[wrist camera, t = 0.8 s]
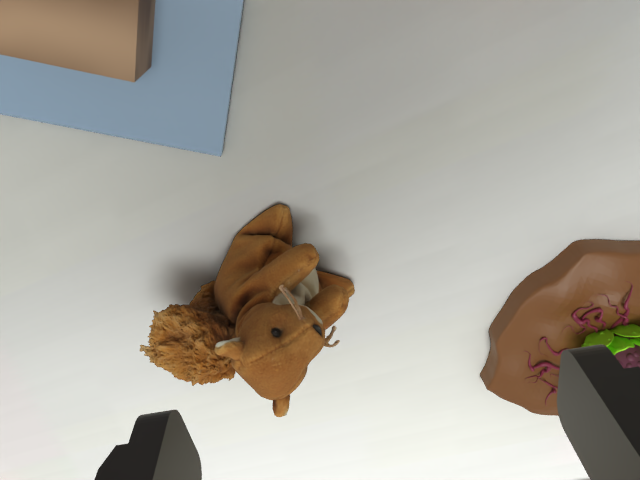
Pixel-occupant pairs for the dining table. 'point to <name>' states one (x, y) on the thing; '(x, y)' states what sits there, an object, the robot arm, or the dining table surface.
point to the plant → (565, 320)
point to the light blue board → (143, 83)
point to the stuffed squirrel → (254, 314)
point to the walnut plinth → (81, 34)
